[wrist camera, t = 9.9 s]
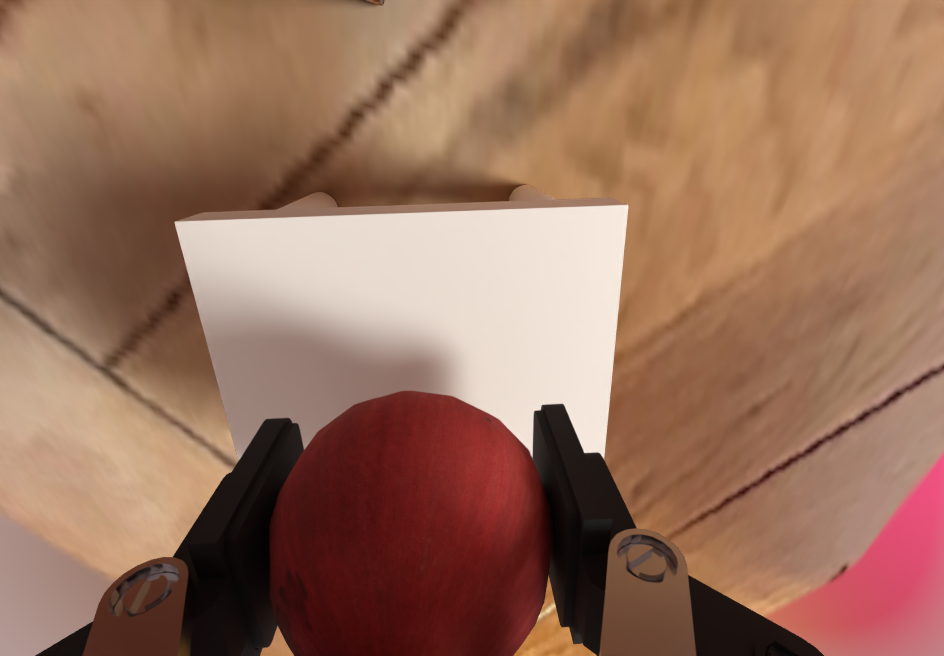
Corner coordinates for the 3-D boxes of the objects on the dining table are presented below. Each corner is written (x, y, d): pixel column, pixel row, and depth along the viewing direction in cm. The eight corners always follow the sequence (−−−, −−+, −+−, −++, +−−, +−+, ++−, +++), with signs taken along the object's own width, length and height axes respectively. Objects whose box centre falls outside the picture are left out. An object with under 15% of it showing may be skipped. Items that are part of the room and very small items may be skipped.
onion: (416, 534, 15) (386, 916, 8) (277, 421, 13) (64, 783, 6) (562, 433, 14) (691, 775, 7) (431, 293, 12) (405, 549, 5)
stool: (551, 174, 22) (628, 204, 13) (543, 398, 27) (596, 539, 17) (290, 184, 21) (174, 221, 12) (328, 409, 26) (264, 560, 17)
